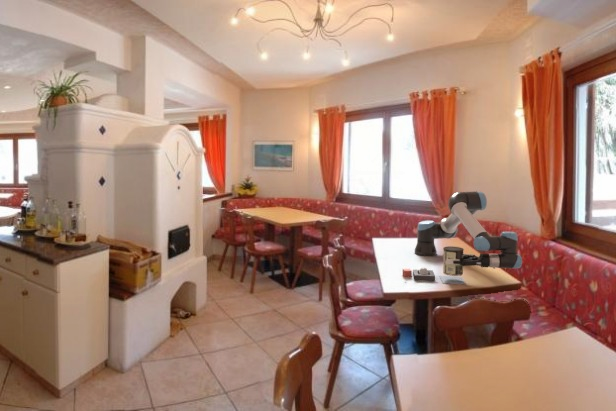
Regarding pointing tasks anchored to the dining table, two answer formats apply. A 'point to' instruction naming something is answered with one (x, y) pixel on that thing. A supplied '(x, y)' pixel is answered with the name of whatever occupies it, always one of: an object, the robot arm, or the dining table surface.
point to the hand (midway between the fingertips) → (444, 258)
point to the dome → (423, 271)
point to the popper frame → (423, 276)
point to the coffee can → (452, 254)
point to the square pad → (452, 280)
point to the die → (407, 273)
